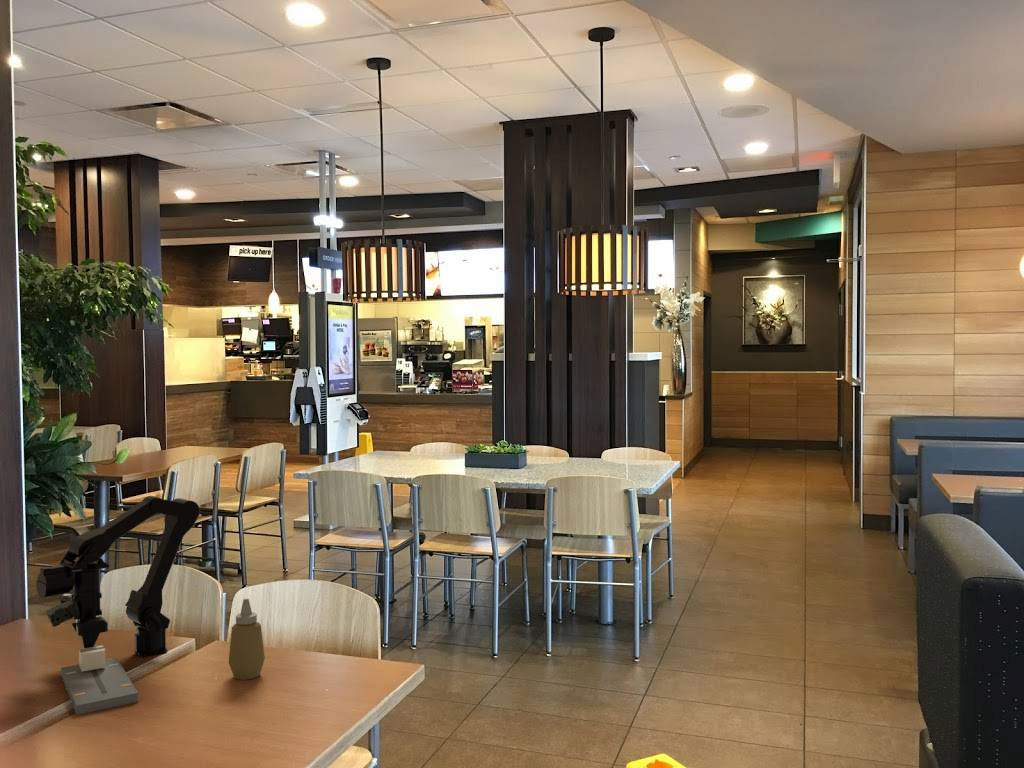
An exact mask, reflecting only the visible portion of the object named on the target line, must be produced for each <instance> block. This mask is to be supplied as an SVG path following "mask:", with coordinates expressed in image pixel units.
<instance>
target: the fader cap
mask: <svg viewBox="0 0 1024 768" xmlns="http://www.w3.org/2000/svg"><path fill="white" fill-rule="evenodd" d="M106 658H107V655H106V648H105V646H104V645H102V644H101V645H97V646H96V645H95V646H94V647H90V648H84V647H83V648H80V649H78V665H79V667H80V669H81V671H82V672H83V671H88V670H94V669H99V668H105V667H106Z"/></svg>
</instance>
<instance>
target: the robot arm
mask: <svg viewBox="0 0 1024 768" xmlns="http://www.w3.org/2000/svg"><path fill="white" fill-rule="evenodd" d="M200 513H201V509H200V506H199V505H198V503H197V502H195V501H194V500H189V499H185V498H178V497H176V498H174V499H173V500H169V499H165V498H161V497H158V496H153V495H148V496H146V497H144V498H143V499H142V500H141V501H139V502H137V504H135V505H133V506H132V507H130V508H128V509H127V510H126V511H125V512H123V513H121V514H119V515H118V516H117V517H115V518H114V519H112V520H110V521H109V522H108V523H105V525H103V526H101V527H97V528H94V529H91V530H88V531H86V532H84V533H82V534H78V535H77V536H75V537H74V538H73V539H72V540H71V541H70V544H69V548H68V550H67V551H66V553H65V554H64V556H63V558H61V560H60V562H59V565H55V566H45V567H44V566H43V567H41V568H40V569H39V574H38V575H37V579H36V580H35V586H36V588H35V589H36V591H37V596H39V598H40V599H44V598H45V599H46V598H50V597H54V596H60V595H64V594H65V595H66V594H69V593H70V592H71V591H72V593H71V594H70V600H67V601H65V602H62V603H60V604H57V605H56V606H53V607H52V608H49V609H48V610H46V612H45V613H46V615H47V617H48V620H49V623H50V624H51V626H52V627H53V628H55V627H58V626H60V625H61V623H64V622H66V621H68V620H69V621H70V620H71V619H73V620H74V621H75V622H72V623H71V626H72V628H73V629H74V632H76V634H77V636H78V637H80V638H81V642H82V646H83V649H84V648H90V647H95V646H96V643H97V640H98V639H99V636H100V634H102V633H106V632H108V631H109V627H108V626H109V624H108V621H107V620H106V619H105V618H104V617H102V615H103V610H102V609H101V599H102V597H103V596H102V595H103V594H102V592H101V570H102V569H107V568H109V567H110V564H108V563H107V562H105V560H103V558H102V557H103V556H104V555H105V554H106V553H107V552H108V551H109V550H110V549H111V547H112V546H113V544H114V543H116V541H117V540H119V539H120V538H121V537H123V536H125V535H126V534H128V533H129V532H131V531H132V530H133V529H135V528H137V527H138V526H140V525H141V524H142V523H144V522H145V521H147V520H148V519H150V518H152V517H153V516H155V515H156V514H162V515H164V532H163V533H162V537H161V539H160V542H159V545H158V546H157V550H156V552H155V553H154V557H153V559H152V562H151V564H150V568H149V570H148V571H147V574H146V577H145V579H144V581H143V584H142V585H141V587H139V589H137V590H134V589H131V591H130V594H129V597H128V600H127V601H126V603H125V604H124V606H125V607H126V609H125V614H126V616H127V618H128V620H130V621H132V623H133V626H135V627H136V633H135V634H134V639H133V640H134V651H135V652H136V653H137V654H138V656H139V655H140V656H143V657H145V656H144V655H148V656H152V655H151V654H154V655H156V654H155V653H159V654H161V653H160V652H164V653H167V652H168V648H166V646H167V642H166V629H167V630H168V628H169V626H170V622H171V619H170V618H168V617H167V616H166V615H165V614H163V613H162V609H163V608H162V607H163V600H164V599H163V590H164V588H165V587H164V586H165V585H166V583H167V579H168V576H169V574H170V572H171V570H172V566H173V564H174V561H175V559H176V556H177V555H178V551H179V548H180V546H181V543H182V542H183V538H184V537H185V535H186V534H187V533H188V532H189V531H190V530H191V529H192V528H193V527H194V525H195V523H196V522H197V520H198V518H199V516H200ZM166 651H167V652H166ZM140 656H139V657H140Z"/></svg>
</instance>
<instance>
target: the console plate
mask: <svg viewBox="0 0 1024 768" xmlns="http://www.w3.org/2000/svg"><path fill="white" fill-rule="evenodd" d="M61 676H62V678H63V680H62V682H63V681H64V683H65V685H64V687H65V686H66V688H67V690H66V692H67V691H68V693H69V695H68V697H69V696H70V698H71V700H70V702H71V701H72V703H71V705H72V707H73V711H74V713H75V716H79V715H84V714H89V713H93V712H97V711H101V710H102V711H103V710H106V709H107V710H108V709H111V708H112V709H113V708H115V707H121V706H122V707H123V706H126V705H130V704H136V703H139V691H138V690H137V688H136V687H135V684H134V683H133V681H132V680H131V678H130V677H129V676H128V674H127V672H126V671H125V669H124V667H123V666H122V663H121V662H120V660H119V659H118V658H117V657H114V658H107V659H106V667H105V668H99V669H94V670H88V671H83V672H82V671H81V669H80V667H79V664H74V665H70V666H63V667H60V677H61ZM62 678H61V679H62ZM64 683H63V684H64ZM66 688H65V689H66ZM68 693H67V694H68ZM70 698H69V699H70Z"/></svg>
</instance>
